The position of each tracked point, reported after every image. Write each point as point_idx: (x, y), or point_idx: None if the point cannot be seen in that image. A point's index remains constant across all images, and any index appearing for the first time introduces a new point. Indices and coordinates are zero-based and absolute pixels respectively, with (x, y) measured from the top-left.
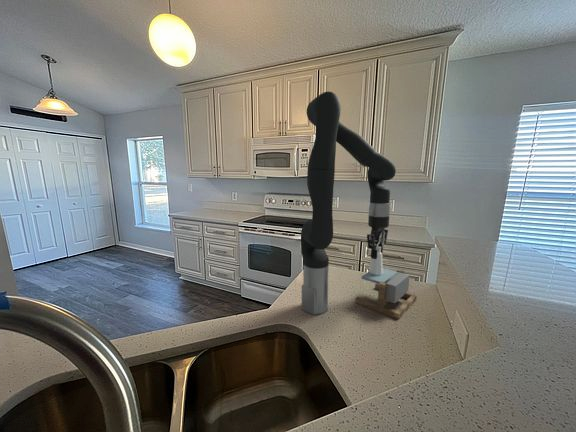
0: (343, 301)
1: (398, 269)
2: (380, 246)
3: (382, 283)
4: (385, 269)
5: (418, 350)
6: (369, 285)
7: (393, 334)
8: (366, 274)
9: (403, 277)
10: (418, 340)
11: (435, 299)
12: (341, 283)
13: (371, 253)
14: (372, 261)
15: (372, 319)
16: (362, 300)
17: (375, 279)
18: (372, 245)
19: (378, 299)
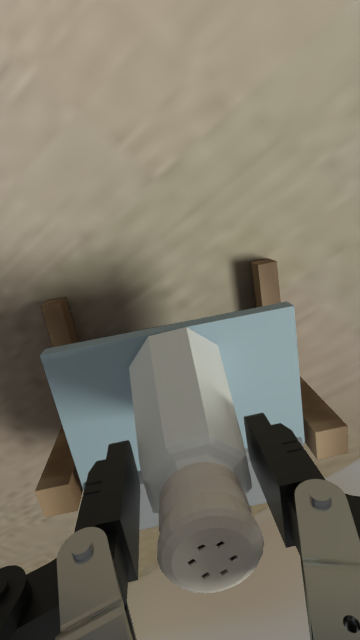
0: (3, 258)
1: (332, 430)
2: (240, 580)
3: (51, 502)
4: (285, 370)
5: (9, 565)
6: (260, 220)
7: (6, 500)
8: (95, 354)
9: (246, 495)
10: (50, 545)
11: (343, 458)
12: (150, 90)
13: (85, 498)
14: (135, 419)
15: (11, 419)
16: (51, 341)
17: (80, 434)
18: (96, 590)
19: (61, 431)
